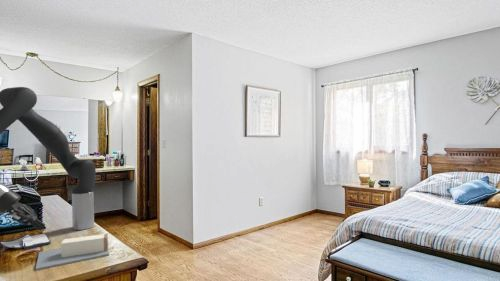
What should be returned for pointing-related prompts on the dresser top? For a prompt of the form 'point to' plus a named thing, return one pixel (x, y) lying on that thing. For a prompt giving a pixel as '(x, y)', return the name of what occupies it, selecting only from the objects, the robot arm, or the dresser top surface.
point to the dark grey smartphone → (37, 241)
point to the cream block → (84, 245)
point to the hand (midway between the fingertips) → (42, 227)
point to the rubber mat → (63, 258)
